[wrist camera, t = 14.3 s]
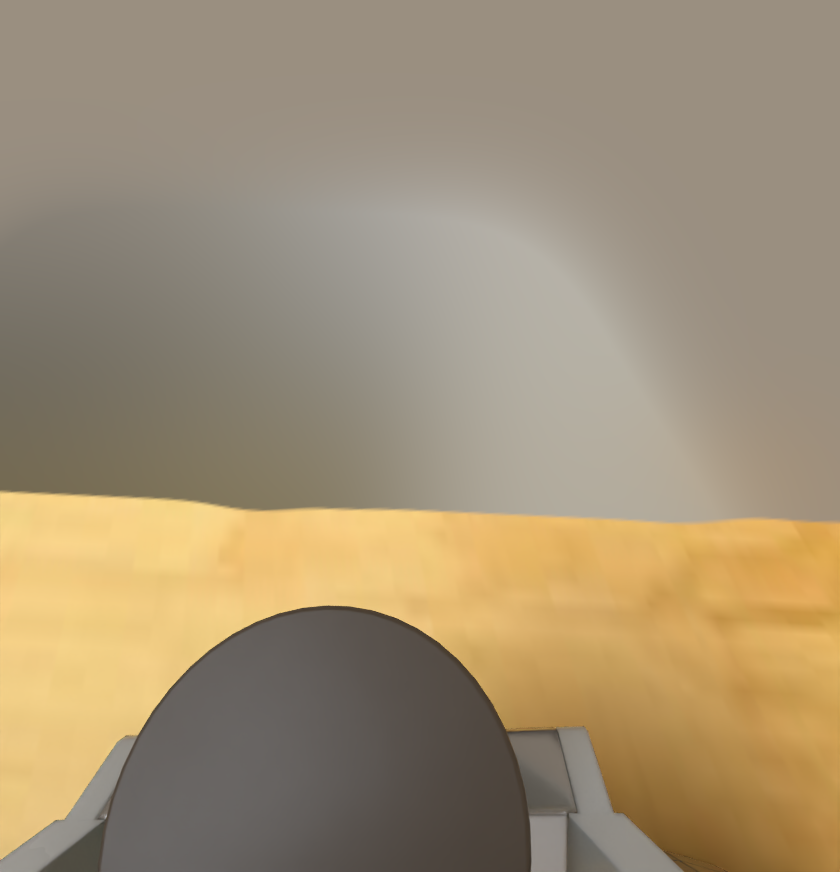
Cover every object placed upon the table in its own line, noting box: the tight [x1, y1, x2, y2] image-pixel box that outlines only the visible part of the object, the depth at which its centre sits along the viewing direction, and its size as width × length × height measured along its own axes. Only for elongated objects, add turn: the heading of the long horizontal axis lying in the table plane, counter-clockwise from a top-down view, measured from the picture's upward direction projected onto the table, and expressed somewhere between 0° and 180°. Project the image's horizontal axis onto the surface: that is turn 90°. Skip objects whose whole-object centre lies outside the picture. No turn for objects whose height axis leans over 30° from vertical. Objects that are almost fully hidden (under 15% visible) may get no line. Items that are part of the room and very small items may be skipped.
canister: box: [98, 606, 532, 872], centre depth 10 cm, size 5×5×8 cm
